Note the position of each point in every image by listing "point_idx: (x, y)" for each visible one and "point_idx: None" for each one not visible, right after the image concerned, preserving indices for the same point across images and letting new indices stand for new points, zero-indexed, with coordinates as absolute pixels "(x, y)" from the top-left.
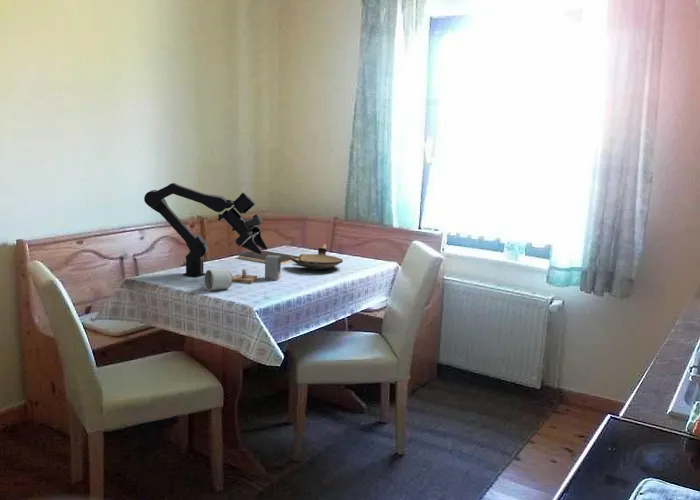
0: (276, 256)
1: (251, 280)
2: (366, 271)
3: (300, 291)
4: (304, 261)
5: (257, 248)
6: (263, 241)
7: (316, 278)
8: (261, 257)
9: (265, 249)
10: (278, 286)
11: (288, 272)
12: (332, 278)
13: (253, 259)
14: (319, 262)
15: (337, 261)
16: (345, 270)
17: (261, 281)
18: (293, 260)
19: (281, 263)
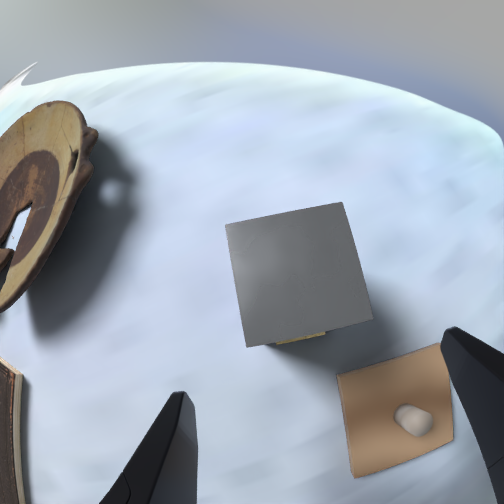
0: (285, 240)
1: None
2: (56, 84)
3: (417, 110)
4: (77, 183)
5: (498, 358)
6: (146, 468)
7: (184, 127)
8: (2, 455)
9: (192, 407)
10: (415, 202)
11: (114, 284)
12: (164, 91)
13: (19, 482)
14: (83, 124)
15: (7, 147)
16: None
17: (379, 322)
18: (42, 266)
19: (9, 366)
